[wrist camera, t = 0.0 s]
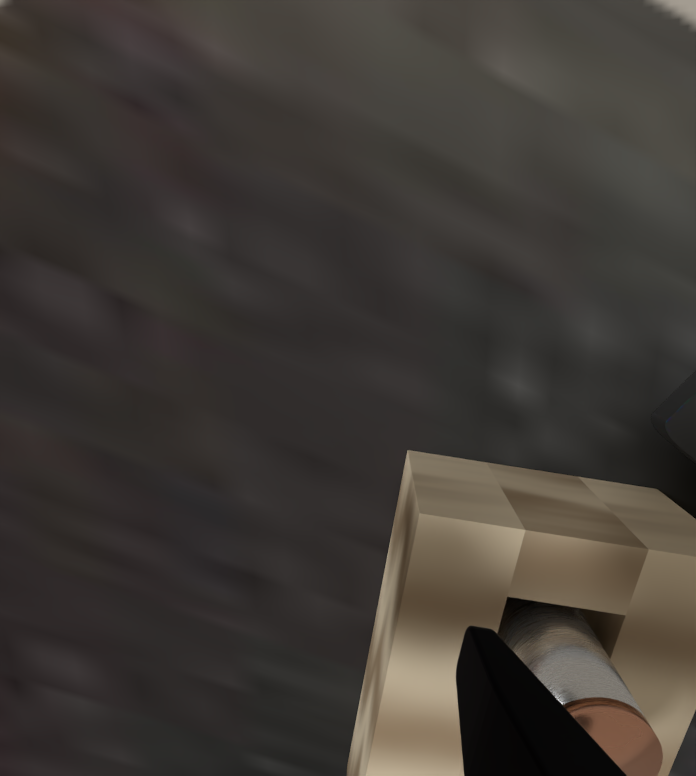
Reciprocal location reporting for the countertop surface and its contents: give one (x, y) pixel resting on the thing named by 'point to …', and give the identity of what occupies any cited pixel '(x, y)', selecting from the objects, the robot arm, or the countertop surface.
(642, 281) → the countertop surface
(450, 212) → the countertop surface
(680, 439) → the smart home device
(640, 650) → the birch block
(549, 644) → the steel peg
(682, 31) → the countertop surface
